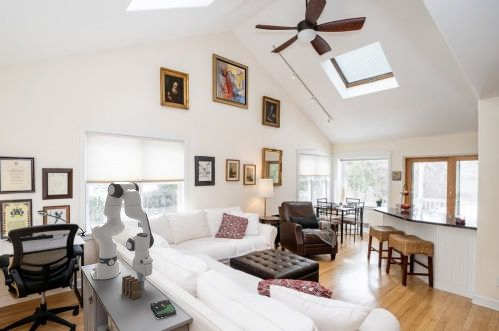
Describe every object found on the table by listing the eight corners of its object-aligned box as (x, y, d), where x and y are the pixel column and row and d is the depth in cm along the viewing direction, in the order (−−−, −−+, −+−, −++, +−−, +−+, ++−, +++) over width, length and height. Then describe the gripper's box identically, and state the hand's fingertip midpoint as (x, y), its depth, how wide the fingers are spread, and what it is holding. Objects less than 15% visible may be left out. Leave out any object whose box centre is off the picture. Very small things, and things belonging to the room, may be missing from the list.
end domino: (141, 288, 175) (142, 273, 175) (137, 286, 178) (138, 271, 178) (144, 287, 176) (144, 272, 176) (140, 285, 179) (140, 270, 180)
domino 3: (128, 297, 162) (128, 280, 162) (136, 294, 166) (136, 278, 166) (129, 298, 161) (130, 281, 161) (137, 295, 165) (138, 279, 165)
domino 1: (121, 292, 168) (122, 276, 168) (129, 290, 171) (130, 274, 172) (123, 293, 167) (123, 277, 167) (130, 291, 170) (131, 275, 171)
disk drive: (150, 308, 150) (157, 320, 138) (150, 303, 150) (157, 314, 138) (168, 303, 156) (176, 314, 144) (168, 298, 156) (176, 309, 144)
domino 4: (131, 299, 159) (132, 282, 159) (139, 296, 163) (140, 280, 163) (133, 300, 158) (133, 283, 158) (141, 297, 162) (141, 280, 162)
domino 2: (124, 295, 165) (125, 278, 165) (132, 292, 169) (133, 276, 169) (126, 295, 164) (126, 279, 164) (134, 293, 167) (134, 277, 168)
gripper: (129, 255, 182) (129, 276, 181) (145, 262, 169) (144, 284, 168) (138, 253, 187) (138, 273, 186) (154, 260, 173) (153, 281, 173)
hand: (141, 279), depth 177 cm, fingers closed on end domino, 5 cm apart
